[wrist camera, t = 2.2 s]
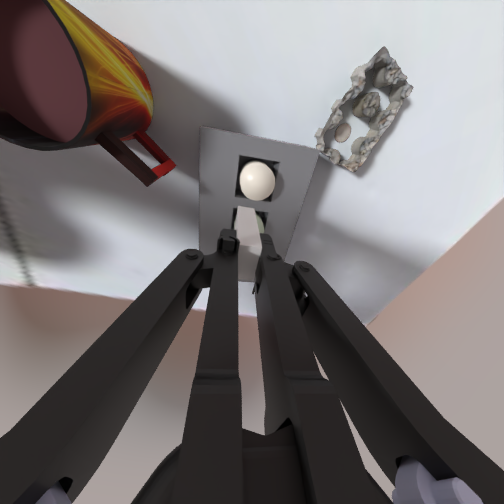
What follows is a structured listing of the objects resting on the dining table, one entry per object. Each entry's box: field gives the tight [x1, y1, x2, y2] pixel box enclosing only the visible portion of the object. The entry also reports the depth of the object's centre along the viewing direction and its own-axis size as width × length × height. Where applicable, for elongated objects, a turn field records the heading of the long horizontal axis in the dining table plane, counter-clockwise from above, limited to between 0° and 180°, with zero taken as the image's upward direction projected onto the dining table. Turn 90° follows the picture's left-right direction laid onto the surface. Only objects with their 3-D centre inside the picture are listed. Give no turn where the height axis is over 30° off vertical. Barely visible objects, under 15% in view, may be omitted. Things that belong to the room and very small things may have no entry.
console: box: [199, 126, 320, 282], centre depth 29 cm, size 14×22×5 cm, turn 171°
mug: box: [0, 0, 176, 187], centre depth 17 cm, size 10×14×12 cm
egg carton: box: [315, 46, 414, 172], centre depth 23 cm, size 11×8×4 cm
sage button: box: [234, 211, 264, 233], centre depth 27 cm, size 4×4×3 cm
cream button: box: [239, 160, 275, 201], centre depth 23 cm, size 4×4×3 cm
